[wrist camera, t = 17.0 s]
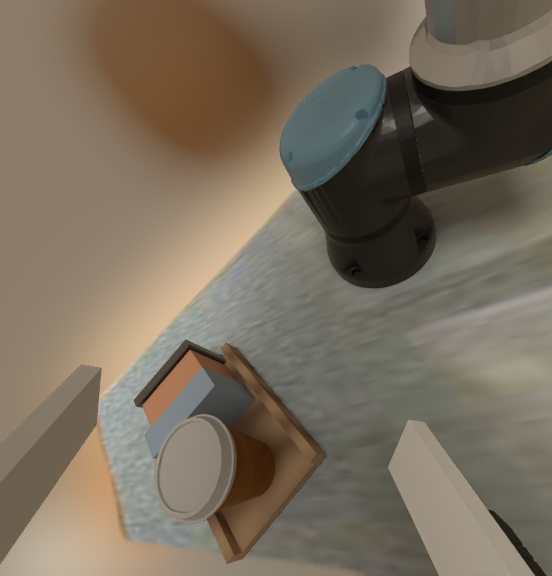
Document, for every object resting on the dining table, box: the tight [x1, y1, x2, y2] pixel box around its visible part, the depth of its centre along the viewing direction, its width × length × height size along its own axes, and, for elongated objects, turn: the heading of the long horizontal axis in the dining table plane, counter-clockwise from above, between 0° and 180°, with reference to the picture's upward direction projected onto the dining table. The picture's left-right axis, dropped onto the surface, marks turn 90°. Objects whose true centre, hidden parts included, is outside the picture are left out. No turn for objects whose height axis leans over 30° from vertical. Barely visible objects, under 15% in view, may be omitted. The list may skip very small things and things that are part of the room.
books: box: [142, 350, 256, 458], centre depth 43 cm, size 8×11×9 cm
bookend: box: [134, 340, 227, 408], centre depth 46 cm, size 2×11×8 cm, turn 131°
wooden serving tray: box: [207, 343, 327, 564], centre depth 43 cm, size 22×15×3 cm
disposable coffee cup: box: [154, 414, 275, 524], centre depth 35 cm, size 10×10×12 cm
